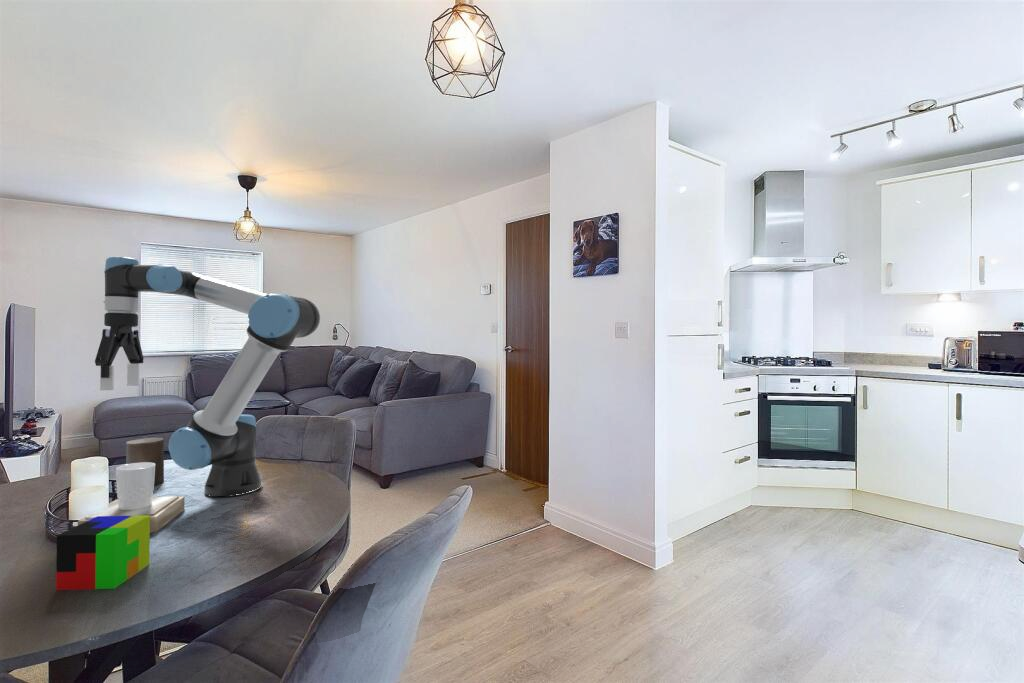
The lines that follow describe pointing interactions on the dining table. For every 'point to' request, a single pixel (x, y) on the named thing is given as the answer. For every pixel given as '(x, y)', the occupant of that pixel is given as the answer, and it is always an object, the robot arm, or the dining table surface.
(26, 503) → the dining table surface
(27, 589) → the dining table surface
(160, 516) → the oak riser
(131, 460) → the pillar candle
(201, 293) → the robot arm
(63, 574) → the puzzle toy
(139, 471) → the white cup
